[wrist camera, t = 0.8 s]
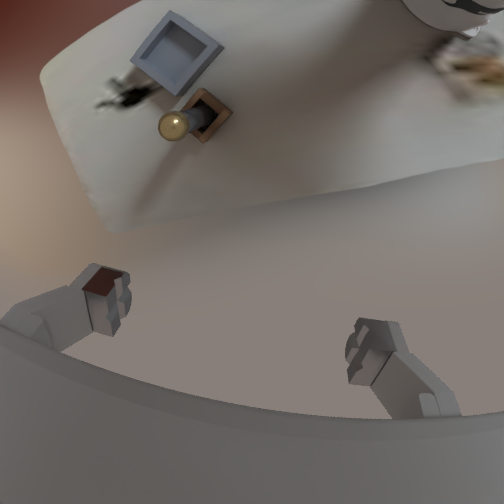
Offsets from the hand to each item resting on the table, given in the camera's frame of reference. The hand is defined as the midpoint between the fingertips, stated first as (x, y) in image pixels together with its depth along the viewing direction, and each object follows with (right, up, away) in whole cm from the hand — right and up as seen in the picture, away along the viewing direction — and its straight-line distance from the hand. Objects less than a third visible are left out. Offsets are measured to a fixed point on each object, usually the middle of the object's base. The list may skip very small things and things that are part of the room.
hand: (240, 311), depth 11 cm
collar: (-7, +23, +35) cm, 42 cm away
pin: (-7, +23, +35) cm, 42 cm away
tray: (-11, +33, +30) cm, 45 cm away
